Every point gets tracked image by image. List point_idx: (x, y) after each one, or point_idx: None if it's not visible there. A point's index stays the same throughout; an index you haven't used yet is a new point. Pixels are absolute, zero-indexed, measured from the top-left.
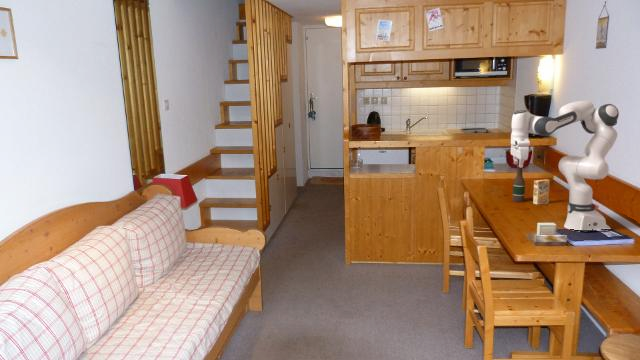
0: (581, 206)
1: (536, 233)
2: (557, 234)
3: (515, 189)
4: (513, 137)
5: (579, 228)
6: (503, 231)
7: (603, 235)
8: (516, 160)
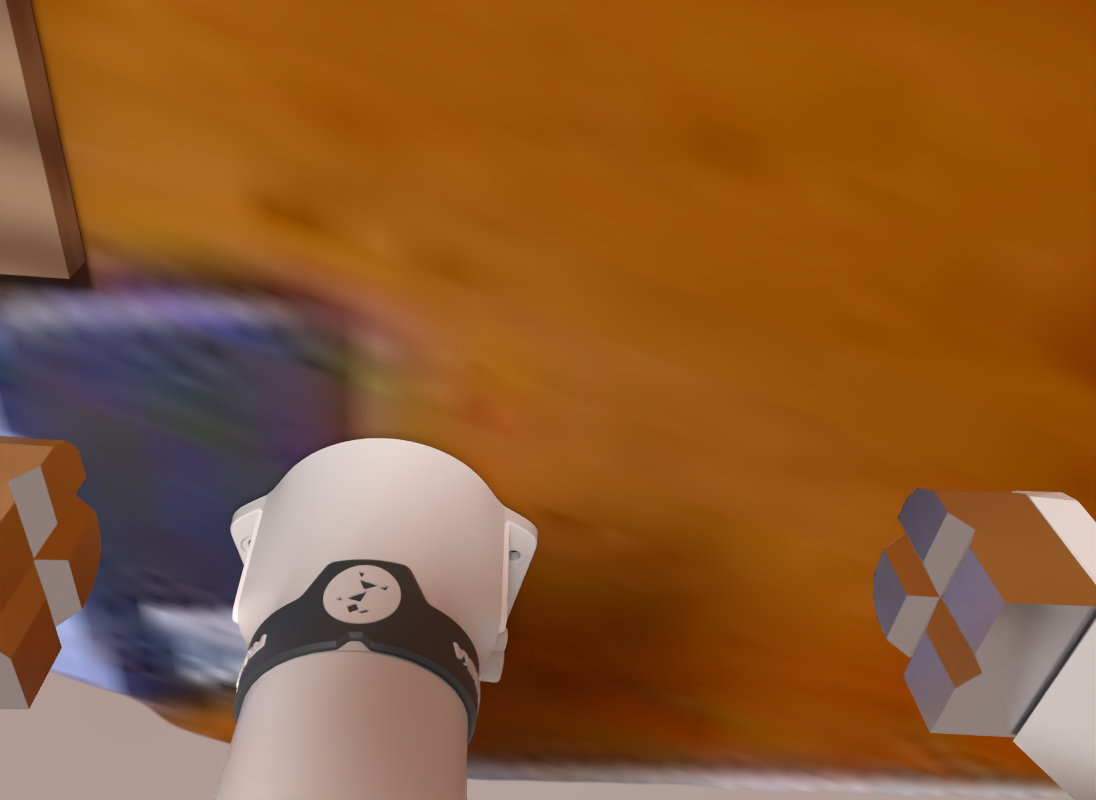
0: (237, 689)
1: (2, 56)
2: (9, 267)
3: None
4: None
5: (264, 512)
6: None
7: (181, 597)
8: (1069, 727)
